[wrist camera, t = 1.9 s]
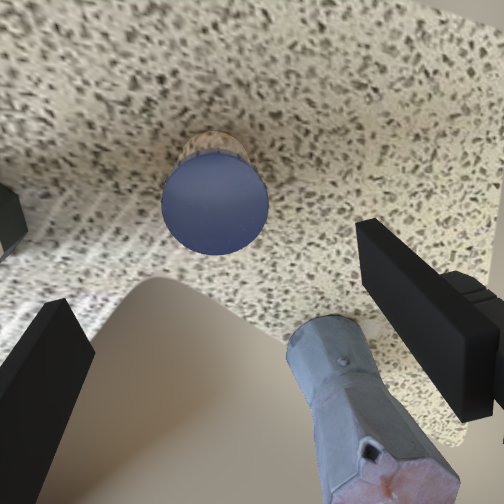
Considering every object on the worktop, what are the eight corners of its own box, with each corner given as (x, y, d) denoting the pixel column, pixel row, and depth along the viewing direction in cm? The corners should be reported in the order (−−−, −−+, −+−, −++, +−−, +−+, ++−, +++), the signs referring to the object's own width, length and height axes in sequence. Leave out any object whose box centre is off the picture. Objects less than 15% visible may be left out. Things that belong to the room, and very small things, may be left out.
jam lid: (175, 134, 22) (173, 139, 20) (278, 163, 23) (283, 170, 22) (155, 232, 24) (151, 243, 23) (249, 253, 26) (251, 265, 24)
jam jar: (186, 121, 29) (176, 142, 21) (258, 142, 31) (277, 170, 22) (170, 192, 32) (156, 237, 23) (238, 209, 33) (248, 258, 25)
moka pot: (343, 277, 37) (468, 470, 19) (389, 375, 44) (512, 585, 26) (258, 318, 38) (302, 536, 20) (315, 407, 45) (386, 630, 27)
